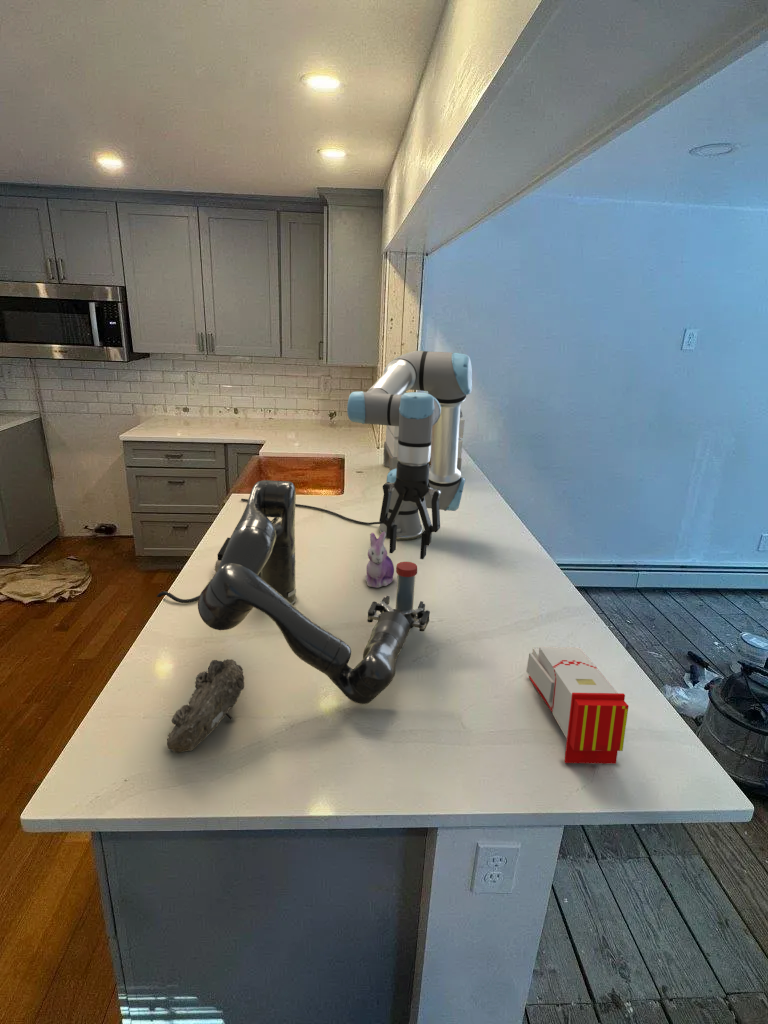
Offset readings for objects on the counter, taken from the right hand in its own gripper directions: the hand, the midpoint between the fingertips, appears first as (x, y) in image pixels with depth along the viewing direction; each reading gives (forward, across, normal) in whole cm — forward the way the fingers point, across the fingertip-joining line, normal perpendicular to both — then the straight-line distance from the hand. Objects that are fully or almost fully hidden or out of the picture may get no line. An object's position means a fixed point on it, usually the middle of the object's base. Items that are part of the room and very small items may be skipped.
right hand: (407, 553), depth 137 cm
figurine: (+19, +13, -19) cm, 30 cm away
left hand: (+13, 0, 0) cm, 13 cm away
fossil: (+19, +23, +48) cm, 56 cm away
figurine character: (+19, +56, -8) cm, 59 cm away
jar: (+19, 0, 0) cm, 19 cm away
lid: (+4, 0, 0) cm, 4 cm away
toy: (+19, -40, +20) cm, 49 cm away
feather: (+19, +66, -55) cm, 88 cm away
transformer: (+19, +35, -136) cm, 141 cm away
